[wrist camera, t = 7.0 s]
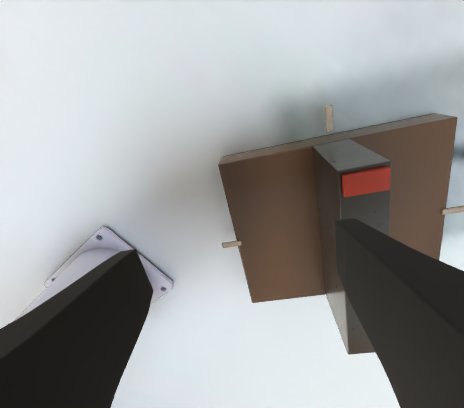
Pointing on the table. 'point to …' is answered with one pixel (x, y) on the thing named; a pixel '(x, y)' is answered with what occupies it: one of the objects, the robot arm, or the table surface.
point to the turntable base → (306, 207)
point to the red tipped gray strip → (344, 207)
